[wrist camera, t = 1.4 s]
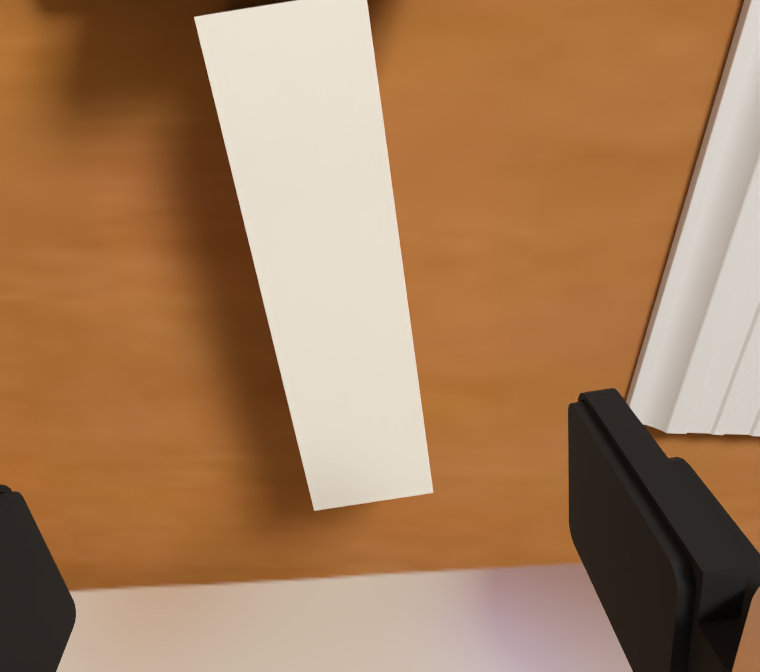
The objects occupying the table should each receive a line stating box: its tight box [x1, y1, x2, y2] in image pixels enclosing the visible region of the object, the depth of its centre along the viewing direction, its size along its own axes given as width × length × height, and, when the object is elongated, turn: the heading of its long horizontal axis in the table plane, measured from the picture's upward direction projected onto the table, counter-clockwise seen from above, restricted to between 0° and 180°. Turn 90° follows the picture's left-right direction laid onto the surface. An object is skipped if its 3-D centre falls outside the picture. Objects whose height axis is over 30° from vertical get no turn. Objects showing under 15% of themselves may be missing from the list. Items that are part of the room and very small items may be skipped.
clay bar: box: [194, 0, 433, 511], centre depth 21 cm, size 15×4×5 cm, turn 8°
